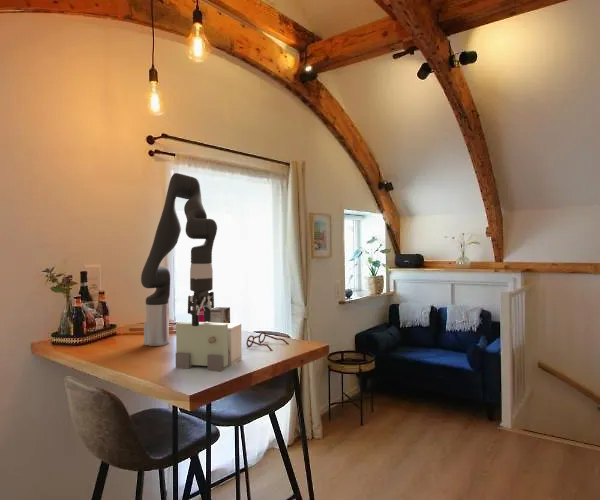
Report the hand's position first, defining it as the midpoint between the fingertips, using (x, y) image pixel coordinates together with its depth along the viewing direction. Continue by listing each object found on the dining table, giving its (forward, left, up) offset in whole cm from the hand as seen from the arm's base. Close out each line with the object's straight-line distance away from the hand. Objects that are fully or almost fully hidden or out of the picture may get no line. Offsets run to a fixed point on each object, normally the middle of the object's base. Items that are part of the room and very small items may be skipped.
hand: (201, 323), depth 147 cm
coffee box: (-7, +28, -15) cm, 33 cm away
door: (0, 0, -14) cm, 14 cm away
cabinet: (0, +5, -15) cm, 16 cm away
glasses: (+12, +35, -16) cm, 40 cm away
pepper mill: (-20, +36, -15) cm, 44 cm away
